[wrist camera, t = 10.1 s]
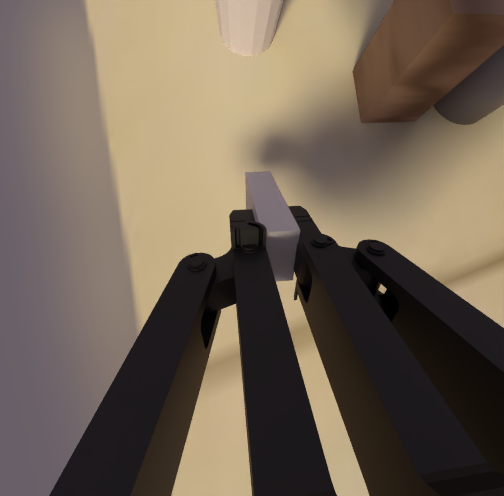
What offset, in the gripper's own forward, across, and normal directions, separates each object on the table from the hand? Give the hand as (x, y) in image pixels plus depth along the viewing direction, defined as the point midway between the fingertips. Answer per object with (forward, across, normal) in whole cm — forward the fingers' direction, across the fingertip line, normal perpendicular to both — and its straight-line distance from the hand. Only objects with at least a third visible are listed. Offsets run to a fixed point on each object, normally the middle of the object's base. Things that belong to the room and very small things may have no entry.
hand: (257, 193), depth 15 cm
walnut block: (+14, +15, +4) cm, 21 cm away
